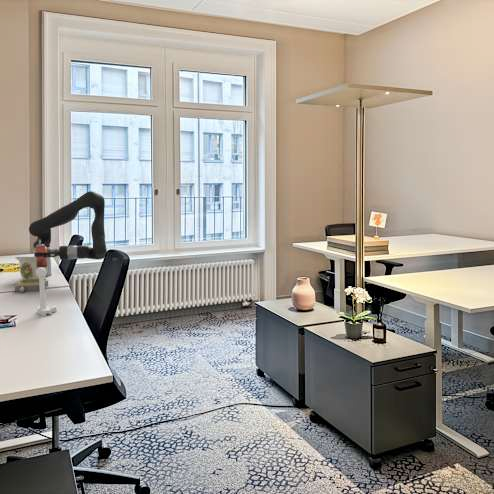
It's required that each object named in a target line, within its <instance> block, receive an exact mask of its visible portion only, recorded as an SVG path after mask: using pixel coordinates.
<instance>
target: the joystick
mask: <svg viewBox="0 0 494 494" xmlns="http://www.w3.org/2000/svg"><path fill="white" fill-rule="evenodd" d="M46 274H47V271H46V269H45V268H43V267H40V268H38V269H37V270H36V275H37V276H38V277H39V278H38V279H39V287H40V291H39V305H37V314H38V315H40V316H42V317H46V316H47V315H52V313H56V312H57V305H50V306H48V305H47V298H46V297H47V296H46V289H45V284H44V279H45V277H47V276H46Z"/></svg>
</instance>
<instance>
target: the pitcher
mask: <svg viewBox="0 0 494 494" xmlns="http://www.w3.org/2000/svg"><path fill="white" fill-rule="evenodd" d="M14 259H16V260H18V263H19V273H20V276H21V278H22V279H21V280H24V279H39V277H38V276H37V275H36V270H37V269H38V268H40V267H37V265H36V257H34V256H15V257H14ZM46 271H48V266H47V267H46Z"/></svg>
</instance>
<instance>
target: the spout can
mask: <svg viewBox="0 0 494 494" xmlns="http://www.w3.org/2000/svg"><path fill="white" fill-rule="evenodd" d="M35 252H36V253H39V252H47V249H46V246H45V244H41V240H39V244H38V245H37V246H36V247H35ZM45 255H47V254H45ZM36 265H37V267H47V266H48V263H47V257H45V258H44V257H36Z"/></svg>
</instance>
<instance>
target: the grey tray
mask: <svg viewBox="0 0 494 494" xmlns="http://www.w3.org/2000/svg"><path fill="white" fill-rule="evenodd" d="M44 284H45V290H46V289H47V288H48V287H49V280H47V278H44ZM14 292H15V293H25V292H40V287H39V278H38V279H24V280H23V279H21V280H20V281H19V282H17V283H16V285H15V286H14Z"/></svg>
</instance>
